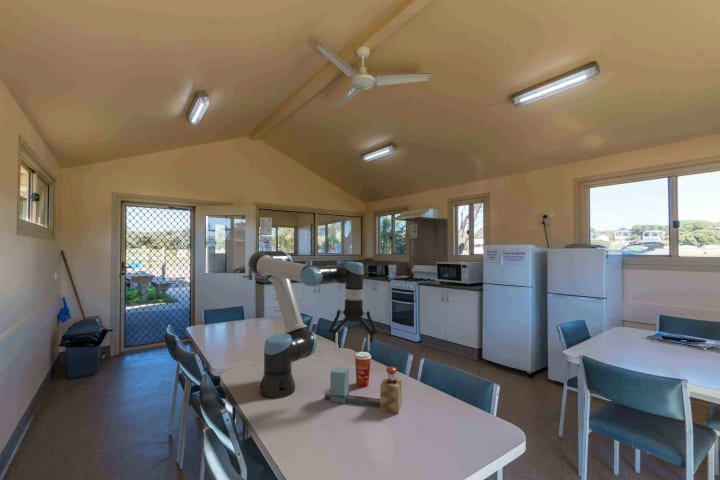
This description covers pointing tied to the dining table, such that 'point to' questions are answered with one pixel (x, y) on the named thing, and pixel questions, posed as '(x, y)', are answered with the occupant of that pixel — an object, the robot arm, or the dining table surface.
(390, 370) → the plunger
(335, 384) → the block
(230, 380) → the dining table surface
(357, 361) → the paper cup
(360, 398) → the rail
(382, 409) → the housing
